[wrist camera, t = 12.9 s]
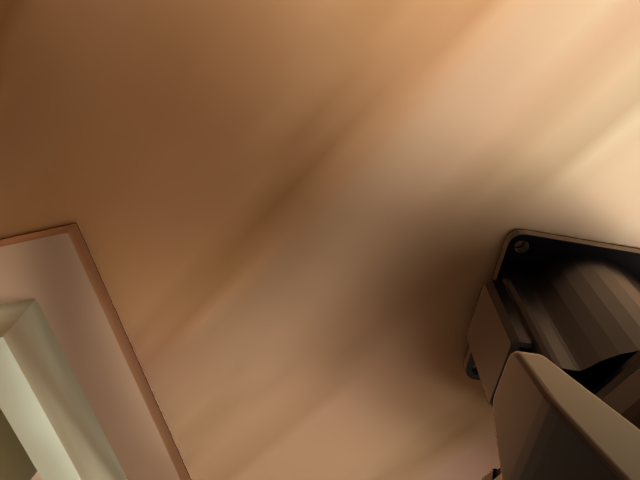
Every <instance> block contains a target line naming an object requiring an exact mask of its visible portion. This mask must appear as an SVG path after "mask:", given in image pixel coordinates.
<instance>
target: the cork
mask: <svg viewBox="0 0 640 480" xmlns="http://www.w3.org/2000/svg"><path fill="white" fill-rule="evenodd" d="M36 472H37V469H36V468H35V466H34V464H33V463H32V461H31V459H30V458H29V456H28V454H27V452H26V451H25V449H24V447H23V446H22V444H21V442H20V441H19V439H18V437H17V435H16V434H15V432H14V430H13V429H12V427H11V425H10V424H9V422H8V420H7V418H6V417H5V415H4V413H3V412H2V410H1V408H0V480H31V479H32V477H33V476H34V475H35V474H36Z"/></svg>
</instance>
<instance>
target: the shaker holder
mask: <svg viewBox="0 0 640 480" xmlns="http://www.w3.org/2000/svg"><path fill="white" fill-rule="evenodd" d="M0 408H1V410H2V412H3V413H4V415H5V417H6V418H7V420H8V422H9V424H10V425H11V427H12V429H13V430H14V432H15V434H16V435H17V437H18V439H19V441H20V442H21V444H22V446H23V447H24V449H25V451H26V452H27V454H28V456H29V458H30V459H31V461H32V463H33V464H34V466H35V468H36V469H37V472H36V474H35V475H34V476H33V477H32V479H31V480H191V479H190V477H189V475H188V472H187V470H186V468H185V466H184V463H183V461H182V459H181V457H180V454H179V452H178V450H177V448H176V445H175V443H174V441H173V439H172V436H171V434H170V432H169V430H168V428H167V425H166V423H165V421H164V419H163V416H162V414H161V412H160V410H159V407H158V405H157V403H156V401H155V398H154V396H153V394H152V392H151V389H150V387H149V385H148V383H147V380H146V378H145V376H144V374H143V371H142V369H141V367H140V365H139V363H138V360H137V358H136V356H135V354H134V351H133V349H132V347H131V345H130V342H129V340H128V338H127V336H126V333H125V331H124V329H123V327H122V324H121V322H120V320H119V318H118V315H117V313H116V311H115V309H114V306H113V304H112V302H111V300H110V298H109V295H108V293H107V291H106V289H105V286H104V284H103V282H102V280H101V277H100V275H99V273H98V271H97V268H96V266H95V264H94V262H93V259H92V257H91V255H90V253H89V250H88V248H87V246H86V244H85V242H84V239H83V237H82V235H81V233H80V230H79V228H78V226H77V224H76V223H75V224H71V225H66V226H62V227H57V228H52V229H48V230H43V231H39V232H34V233H29V234H25V235H20V236H16V237H11V238H6V239H2V240H0Z"/></svg>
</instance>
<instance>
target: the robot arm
mask: <svg viewBox="0 0 640 480" xmlns="http://www.w3.org/2000/svg"><path fill="white" fill-rule="evenodd" d="M521 240H524V241H526V243H525V245H524V246H523V247H521V248H515V244H516V243H517V242H519V241H521ZM466 337H467V341H468V344H469V348H468V351H467V354H466V357H465V360H464V368H465V371H466V373H467V375H468V376H469V377H470V378H472V379H475V380H481V383H482V386H483V389H484V392H485V395H486V398H487V401H488V403H489V405H490V406H491V407H492V409H493V415H494V423H495V430H496V438H497V445H498V452H499V460H500V468H499V469H493V470H492V471H490V472H489V473H488V474H487V475H486V476H484V477H483V478H482V480H640V249H636V248H630V247H624V246H618V245H612V244H606V243H600V242H594V241H588V240H582V239H576V238H570V237H564V236H558V235H553V234H547V233H541V232H535V231H529V230H515V231H512V232H511V233H510V234H509V235H508V236H507V238H506V239H505V242H504V245H503V248H502V251H501V254H500V257H499V260H498V263H497V266H496V269H495V272H494V275H493V278H492V279H490V280H488V281H487V282H486V283H484V284H483V287H482V290H481V293H480V296H479V299H478V302H477V305H476V308H475V311H474V314H473V317H472V320H471V323H470V326H469V329H468V332H467V336H466ZM475 365H476V368H473V366H475Z"/></svg>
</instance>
